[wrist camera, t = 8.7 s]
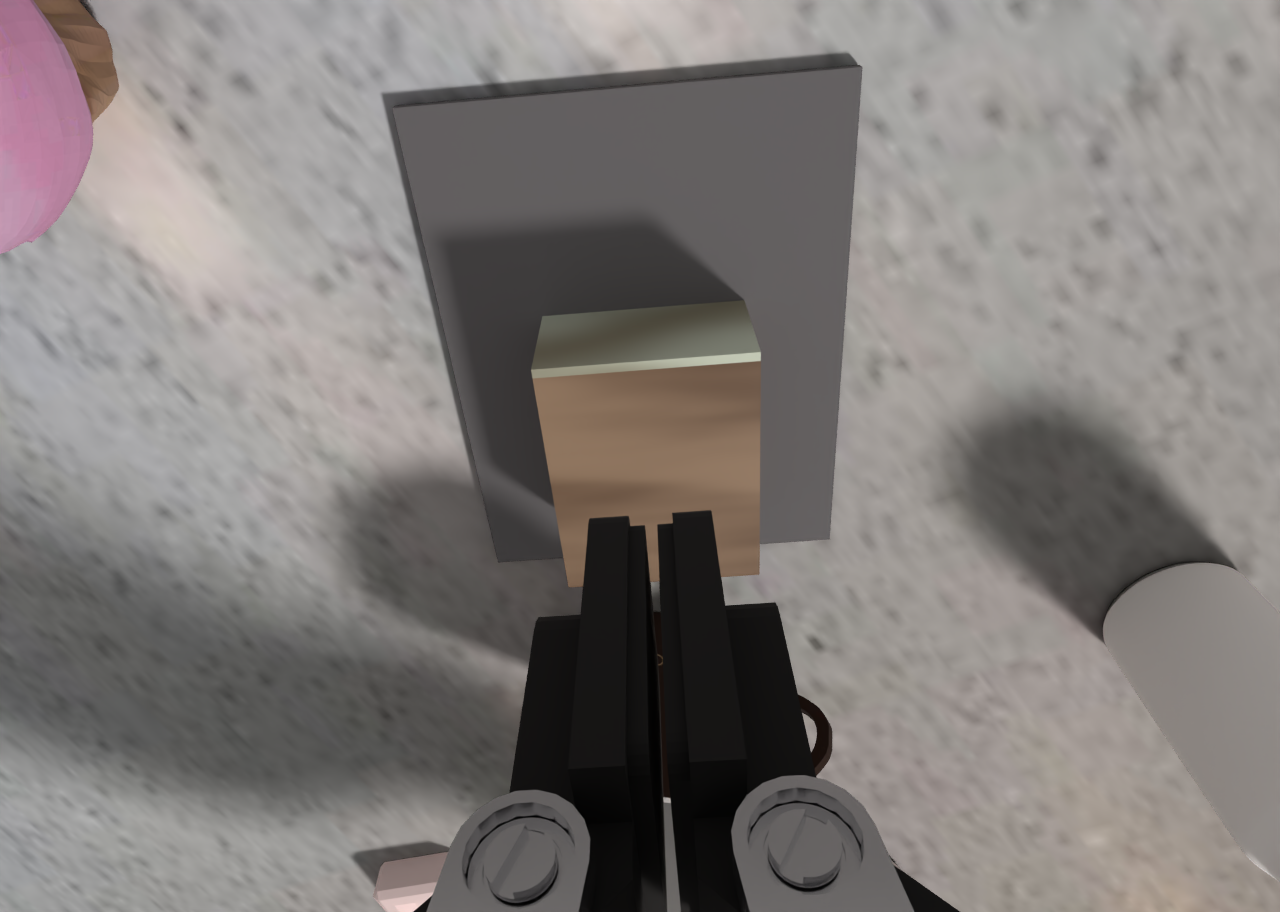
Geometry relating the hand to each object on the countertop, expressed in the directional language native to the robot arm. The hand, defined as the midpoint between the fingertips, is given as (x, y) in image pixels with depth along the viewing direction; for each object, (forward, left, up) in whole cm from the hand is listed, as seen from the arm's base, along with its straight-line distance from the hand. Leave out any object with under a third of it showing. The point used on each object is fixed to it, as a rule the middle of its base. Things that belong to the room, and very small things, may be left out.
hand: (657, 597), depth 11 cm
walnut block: (-3, 0, -16) cm, 16 cm away
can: (-20, -23, -18) cm, 36 cm away
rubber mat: (-5, 0, -18) cm, 19 cm away
